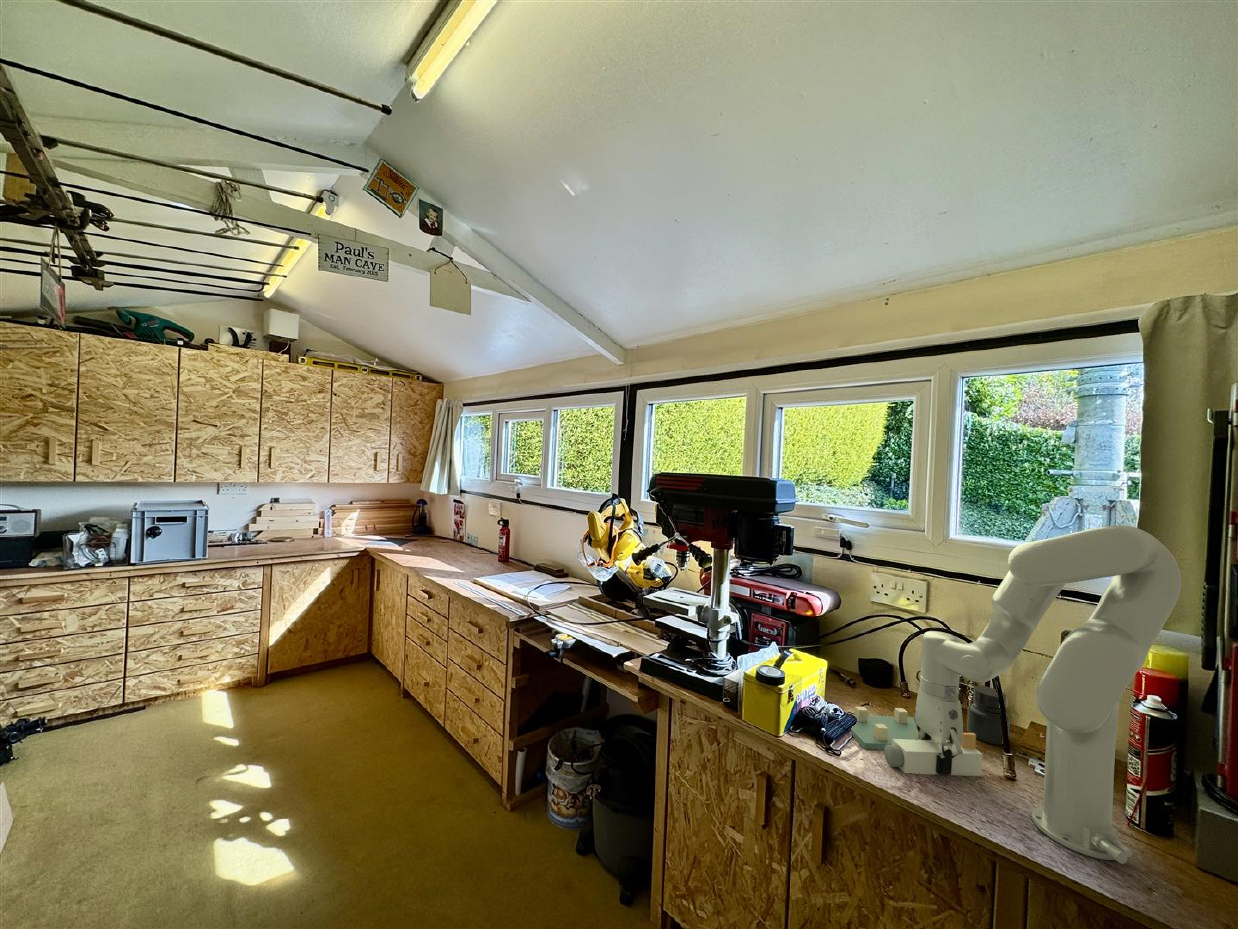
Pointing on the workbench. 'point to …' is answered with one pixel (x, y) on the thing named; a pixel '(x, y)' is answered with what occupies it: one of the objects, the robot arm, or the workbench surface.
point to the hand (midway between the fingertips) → (934, 765)
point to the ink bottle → (986, 715)
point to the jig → (883, 728)
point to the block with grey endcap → (933, 756)
